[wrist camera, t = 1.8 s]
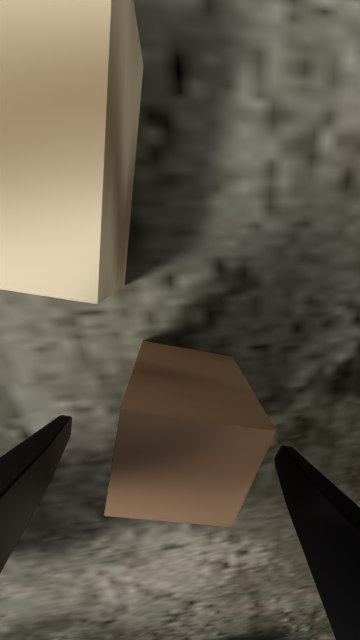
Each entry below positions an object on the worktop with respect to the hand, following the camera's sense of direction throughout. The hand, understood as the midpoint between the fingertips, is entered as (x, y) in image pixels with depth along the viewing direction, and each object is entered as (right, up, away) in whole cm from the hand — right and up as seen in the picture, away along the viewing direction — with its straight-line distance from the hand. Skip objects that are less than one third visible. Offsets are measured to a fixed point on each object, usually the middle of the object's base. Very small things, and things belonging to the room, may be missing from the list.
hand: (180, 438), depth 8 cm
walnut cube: (0, +1, +3) cm, 4 cm away
